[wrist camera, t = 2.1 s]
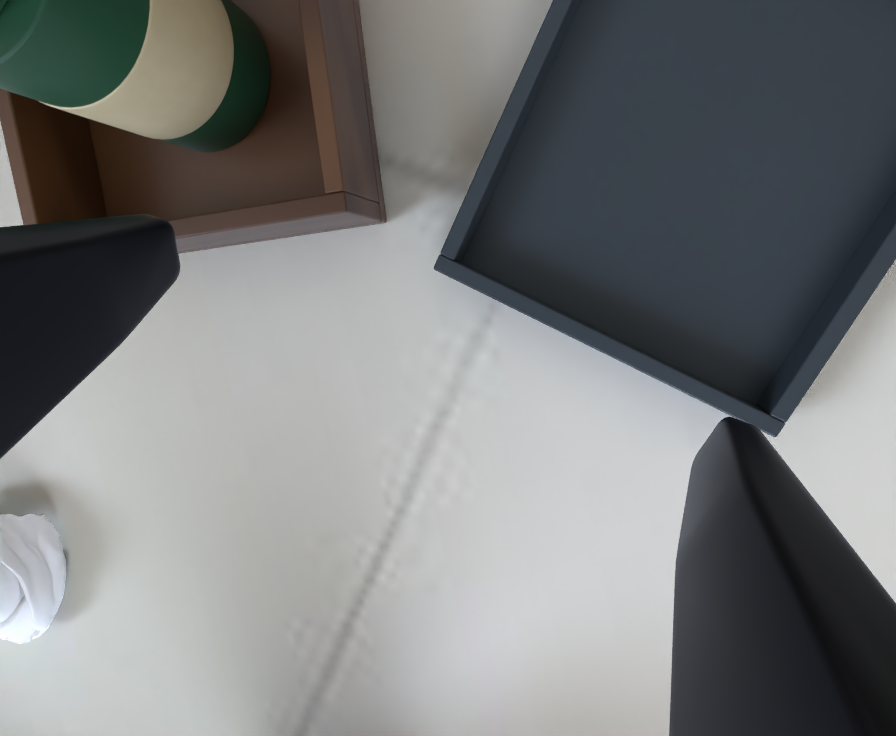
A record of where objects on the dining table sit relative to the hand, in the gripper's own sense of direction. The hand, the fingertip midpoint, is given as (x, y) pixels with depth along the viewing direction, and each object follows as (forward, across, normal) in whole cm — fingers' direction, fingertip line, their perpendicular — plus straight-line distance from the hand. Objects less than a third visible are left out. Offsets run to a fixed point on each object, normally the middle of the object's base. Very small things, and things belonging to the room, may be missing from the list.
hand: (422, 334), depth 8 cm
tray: (+15, -5, 0) cm, 16 cm away
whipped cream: (+2, +21, +26) cm, 33 cm away
